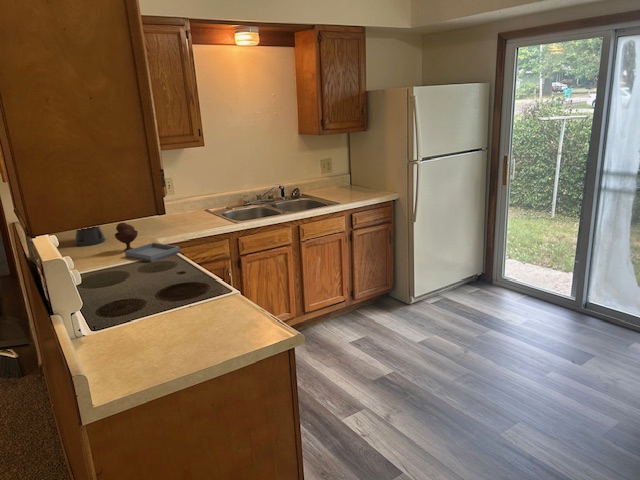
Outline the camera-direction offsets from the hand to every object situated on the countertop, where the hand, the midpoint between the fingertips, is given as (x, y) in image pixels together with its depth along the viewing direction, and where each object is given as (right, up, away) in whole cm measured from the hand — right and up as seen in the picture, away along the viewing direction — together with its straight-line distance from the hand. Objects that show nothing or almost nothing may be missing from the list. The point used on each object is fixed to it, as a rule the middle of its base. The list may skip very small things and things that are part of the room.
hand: (121, 201), depth 237 cm
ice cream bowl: (0, -25, +10) cm, 27 cm away
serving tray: (+16, -26, 0) cm, 31 cm away
